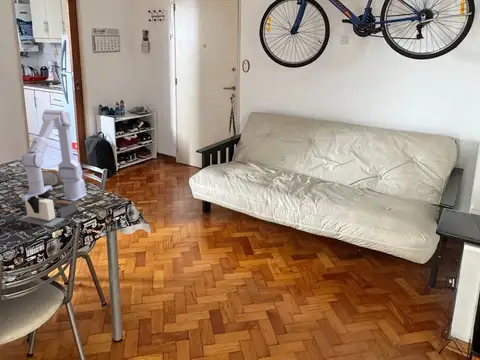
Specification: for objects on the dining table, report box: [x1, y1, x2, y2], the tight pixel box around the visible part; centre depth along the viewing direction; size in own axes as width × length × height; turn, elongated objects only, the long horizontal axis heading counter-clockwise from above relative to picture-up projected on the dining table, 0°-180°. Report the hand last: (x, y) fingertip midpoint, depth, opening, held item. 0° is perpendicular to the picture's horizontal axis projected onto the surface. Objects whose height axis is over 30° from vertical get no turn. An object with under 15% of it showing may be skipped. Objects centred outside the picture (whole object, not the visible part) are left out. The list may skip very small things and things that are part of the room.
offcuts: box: [53, 199, 79, 209], centre depth 206 cm, size 3×13×2 cm, turn 68°
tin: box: [41, 168, 62, 187], centre depth 232 cm, size 15×3×8 cm, turn 84°
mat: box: [17, 214, 66, 228], centre depth 192 cm, size 8×18×1 cm, turn 68°
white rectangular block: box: [24, 197, 56, 220], centre depth 190 cm, size 4×12×8 cm, turn 67°
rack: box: [53, 201, 77, 219], centre depth 200 cm, size 9×17×4 cm, turn 68°
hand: (40, 211), depth 191 cm, fingers closed on white rectangular block, 3 cm apart
